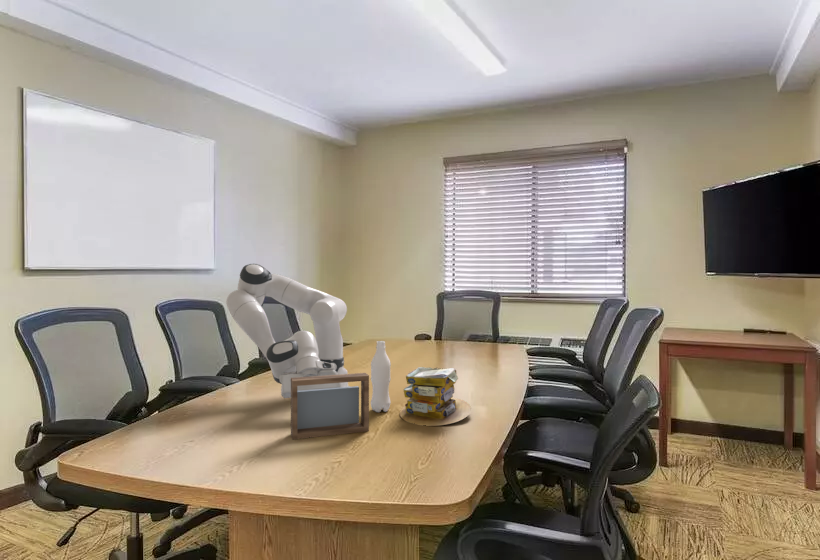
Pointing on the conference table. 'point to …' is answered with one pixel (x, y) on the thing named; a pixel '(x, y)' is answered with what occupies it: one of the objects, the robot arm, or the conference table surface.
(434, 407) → the yellow stacked packages
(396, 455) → the conference table surface
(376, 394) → the water bottle
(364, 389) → the brown wooden frame
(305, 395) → the door
